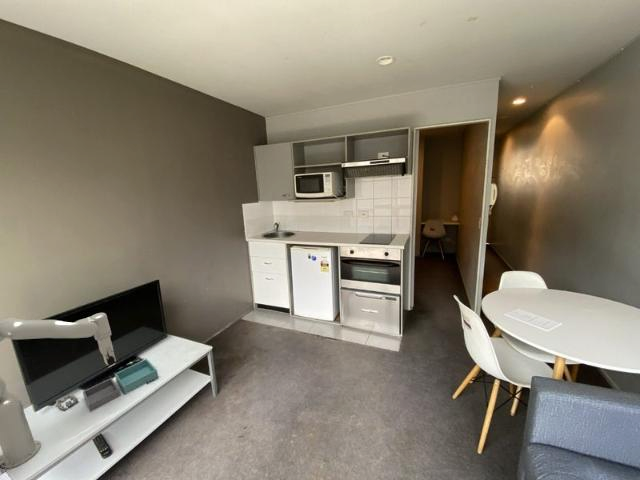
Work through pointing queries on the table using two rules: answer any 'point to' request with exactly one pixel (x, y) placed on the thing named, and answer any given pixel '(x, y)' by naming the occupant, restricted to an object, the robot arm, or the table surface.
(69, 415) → the table surface
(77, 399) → the egg carton
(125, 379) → the bin
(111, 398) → the bin
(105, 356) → the stone block
